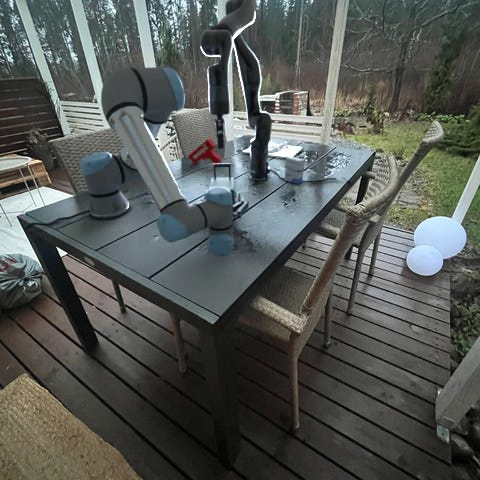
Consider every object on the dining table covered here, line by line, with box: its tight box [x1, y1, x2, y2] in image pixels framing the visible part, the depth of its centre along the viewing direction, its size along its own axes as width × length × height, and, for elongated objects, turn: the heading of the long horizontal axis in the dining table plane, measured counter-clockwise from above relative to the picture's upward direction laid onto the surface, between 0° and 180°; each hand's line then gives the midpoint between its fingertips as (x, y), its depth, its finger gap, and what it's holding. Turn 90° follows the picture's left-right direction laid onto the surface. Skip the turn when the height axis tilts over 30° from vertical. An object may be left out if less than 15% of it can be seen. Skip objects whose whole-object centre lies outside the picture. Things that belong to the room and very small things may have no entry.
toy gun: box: [188, 138, 223, 164], centre depth 168 cm, size 18×4×15 cm
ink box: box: [284, 156, 306, 185], centre depth 140 cm, size 8×5×12 cm, turn 47°
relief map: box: [242, 138, 304, 160], centre depth 192 cm, size 27×35×5 cm
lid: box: [210, 163, 235, 193], centre depth 109 cm, size 14×9×8 cm
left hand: (222, 196), depth 110 cm, fingers open, 13 cm apart
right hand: (221, 145), depth 107 cm, fingers open, 8 cm apart
